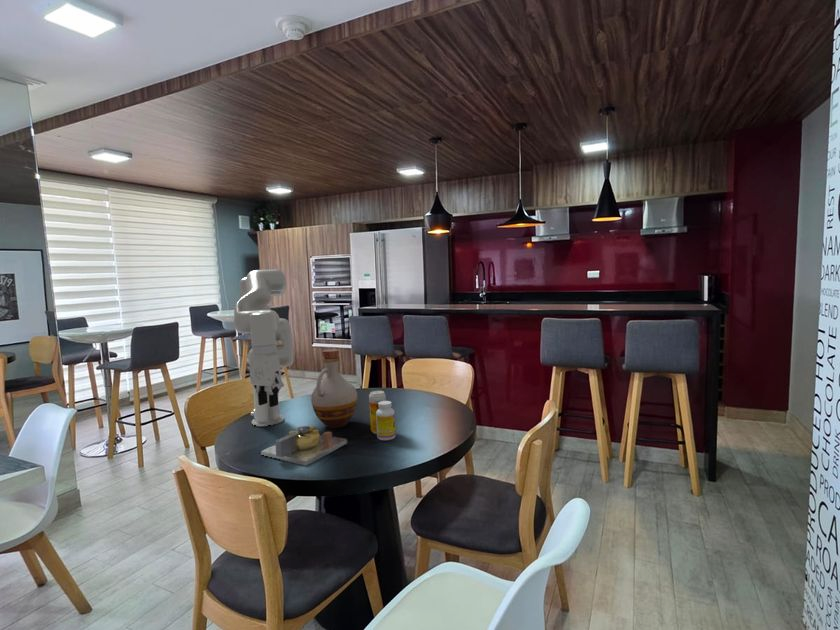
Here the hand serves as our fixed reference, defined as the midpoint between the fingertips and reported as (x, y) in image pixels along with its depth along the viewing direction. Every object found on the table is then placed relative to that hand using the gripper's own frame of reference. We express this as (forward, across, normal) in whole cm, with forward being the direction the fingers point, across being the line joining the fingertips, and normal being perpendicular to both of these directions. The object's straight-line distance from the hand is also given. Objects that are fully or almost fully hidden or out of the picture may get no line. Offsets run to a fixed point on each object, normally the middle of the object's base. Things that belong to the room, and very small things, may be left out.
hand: (268, 404), depth 144 cm
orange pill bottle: (+18, +20, +32) cm, 42 cm away
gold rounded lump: (+15, +6, +5) cm, 18 cm away
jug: (+17, 0, +32) cm, 36 cm away
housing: (+17, +6, +8) cm, 20 cm away
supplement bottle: (+18, +26, +28) cm, 43 cm away
